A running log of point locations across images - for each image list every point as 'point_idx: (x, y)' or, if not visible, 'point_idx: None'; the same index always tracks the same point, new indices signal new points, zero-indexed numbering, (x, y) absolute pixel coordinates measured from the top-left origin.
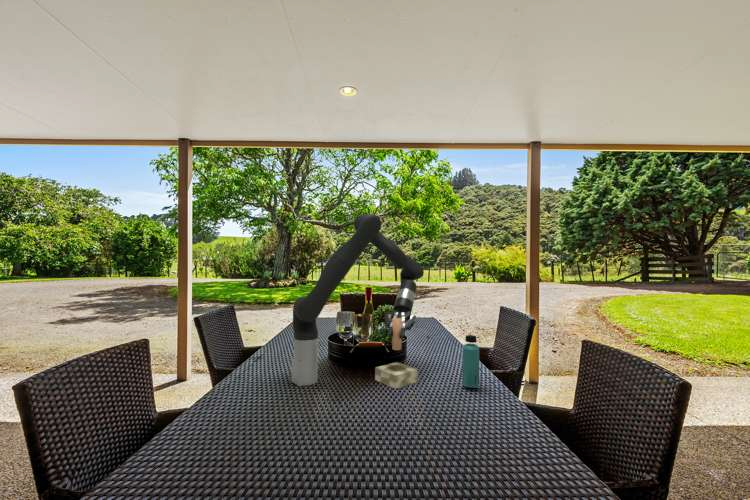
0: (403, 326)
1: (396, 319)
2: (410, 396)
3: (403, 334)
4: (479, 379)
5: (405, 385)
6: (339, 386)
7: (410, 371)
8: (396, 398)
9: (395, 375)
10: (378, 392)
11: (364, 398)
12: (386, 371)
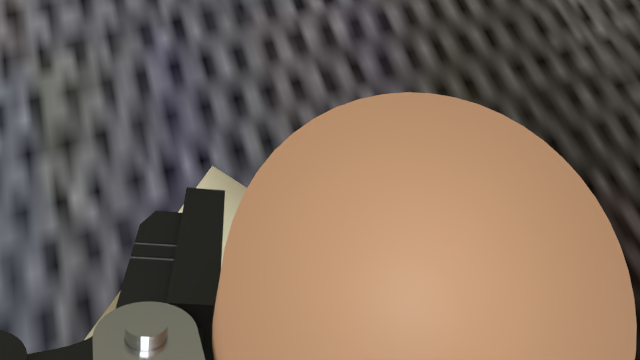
0: (144, 319)
1: (416, 124)
2: (76, 102)
3: (138, 236)
4: None
5: None
6: (572, 130)
7: (93, 328)
8: (166, 48)
9: (214, 168)
10: (307, 107)
11: (356, 4)
12: None
